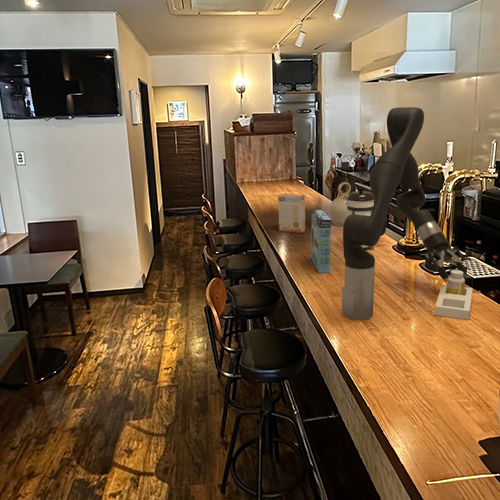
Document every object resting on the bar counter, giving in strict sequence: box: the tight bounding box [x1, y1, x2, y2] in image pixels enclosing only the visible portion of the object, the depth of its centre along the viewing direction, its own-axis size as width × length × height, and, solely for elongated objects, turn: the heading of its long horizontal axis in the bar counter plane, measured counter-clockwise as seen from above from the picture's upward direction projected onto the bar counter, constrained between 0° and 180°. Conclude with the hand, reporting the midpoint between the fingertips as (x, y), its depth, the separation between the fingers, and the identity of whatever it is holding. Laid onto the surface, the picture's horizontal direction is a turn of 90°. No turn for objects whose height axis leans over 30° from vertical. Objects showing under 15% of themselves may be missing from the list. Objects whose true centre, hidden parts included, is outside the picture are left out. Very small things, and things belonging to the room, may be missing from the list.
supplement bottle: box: [446, 269, 466, 295], centre depth 160 cm, size 5×5×10 cm
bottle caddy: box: [434, 284, 473, 321], centre depth 156 cm, size 21×10×3 cm, turn 153°
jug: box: [330, 181, 352, 227], centre depth 271 cm, size 15×16×25 cm
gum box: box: [310, 209, 332, 274], centre depth 199 cm, size 20×5×23 cm, turn 2°
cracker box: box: [277, 193, 306, 234], centre depth 260 cm, size 14×6×21 cm, turn 58°
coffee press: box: [344, 186, 387, 251], centre depth 222 cm, size 17×16×30 cm
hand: (455, 276), depth 159 cm, fingers open, 8 cm apart
